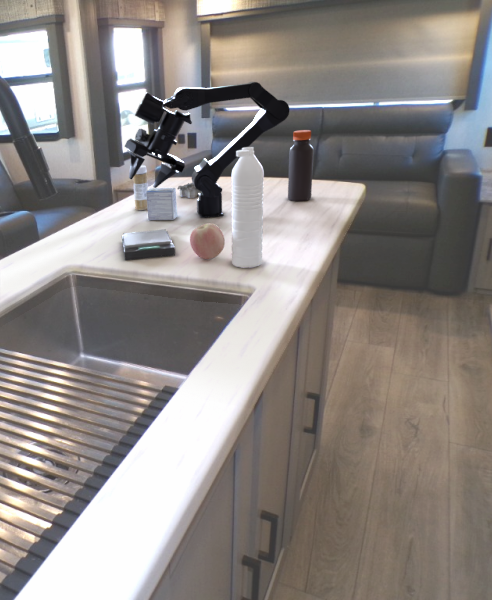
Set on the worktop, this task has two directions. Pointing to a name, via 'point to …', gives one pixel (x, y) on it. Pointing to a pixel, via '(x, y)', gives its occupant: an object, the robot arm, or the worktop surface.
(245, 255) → the water bottle
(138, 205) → the sprinkles bottle
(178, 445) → the worktop surface
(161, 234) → the kitchen scale
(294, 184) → the vinegar
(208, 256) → the apple
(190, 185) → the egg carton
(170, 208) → the medicine box
